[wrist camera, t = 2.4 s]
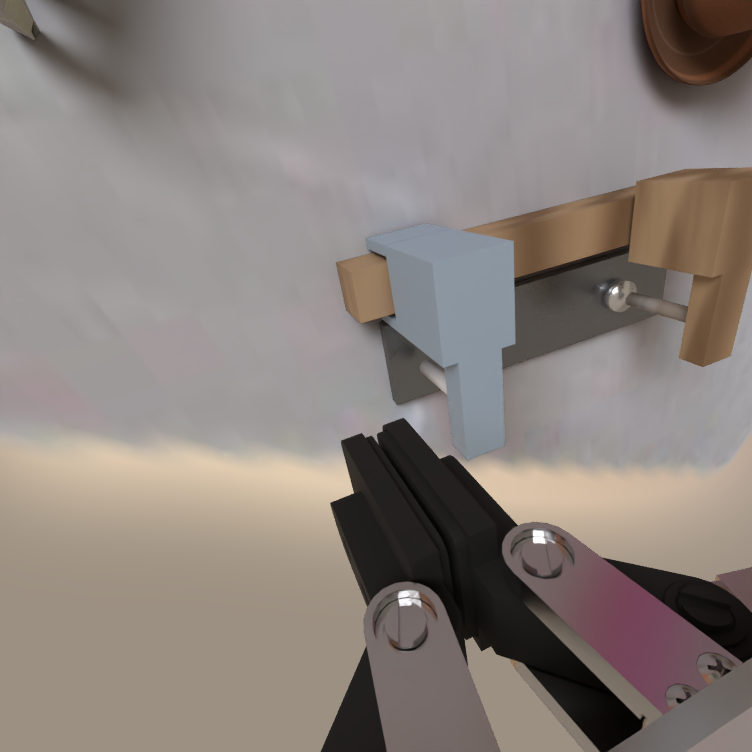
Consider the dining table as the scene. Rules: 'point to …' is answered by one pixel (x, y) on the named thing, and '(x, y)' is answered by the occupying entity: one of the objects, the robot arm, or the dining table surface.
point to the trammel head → (456, 320)
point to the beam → (647, 246)
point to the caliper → (18, 17)
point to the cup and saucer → (699, 37)
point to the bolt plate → (544, 316)
